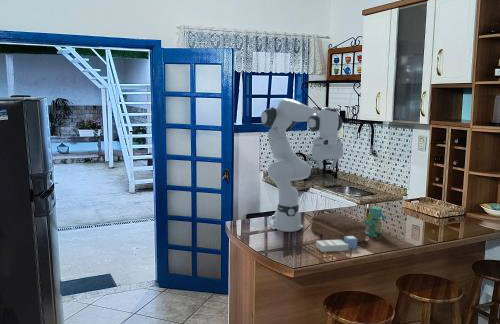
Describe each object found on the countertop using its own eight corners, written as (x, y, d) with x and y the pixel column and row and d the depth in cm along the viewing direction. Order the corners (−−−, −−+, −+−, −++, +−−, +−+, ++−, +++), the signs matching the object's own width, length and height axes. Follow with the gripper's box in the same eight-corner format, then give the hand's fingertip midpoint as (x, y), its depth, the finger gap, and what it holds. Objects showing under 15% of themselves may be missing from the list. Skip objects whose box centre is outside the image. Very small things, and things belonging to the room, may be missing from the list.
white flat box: (315, 246, 228) (316, 240, 227) (341, 244, 231) (341, 239, 230) (321, 251, 220) (322, 245, 220) (348, 250, 223) (348, 244, 223)
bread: (332, 226, 264) (333, 207, 263) (367, 241, 239) (368, 220, 237) (308, 230, 256) (309, 210, 254) (342, 245, 231) (343, 224, 229)
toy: (369, 230, 257) (370, 205, 255) (386, 234, 251) (388, 208, 249) (362, 234, 249) (363, 208, 247) (379, 238, 243) (381, 211, 241)
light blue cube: (343, 245, 230) (343, 235, 229) (352, 245, 231) (352, 235, 230) (347, 249, 225) (348, 238, 224) (356, 248, 226) (357, 238, 225)
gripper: (336, 138, 231) (335, 165, 233) (310, 140, 218) (309, 168, 220) (346, 139, 226) (345, 166, 228) (320, 141, 213) (318, 170, 215)
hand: (327, 167), depth 224 cm, fingers open, 8 cm apart
